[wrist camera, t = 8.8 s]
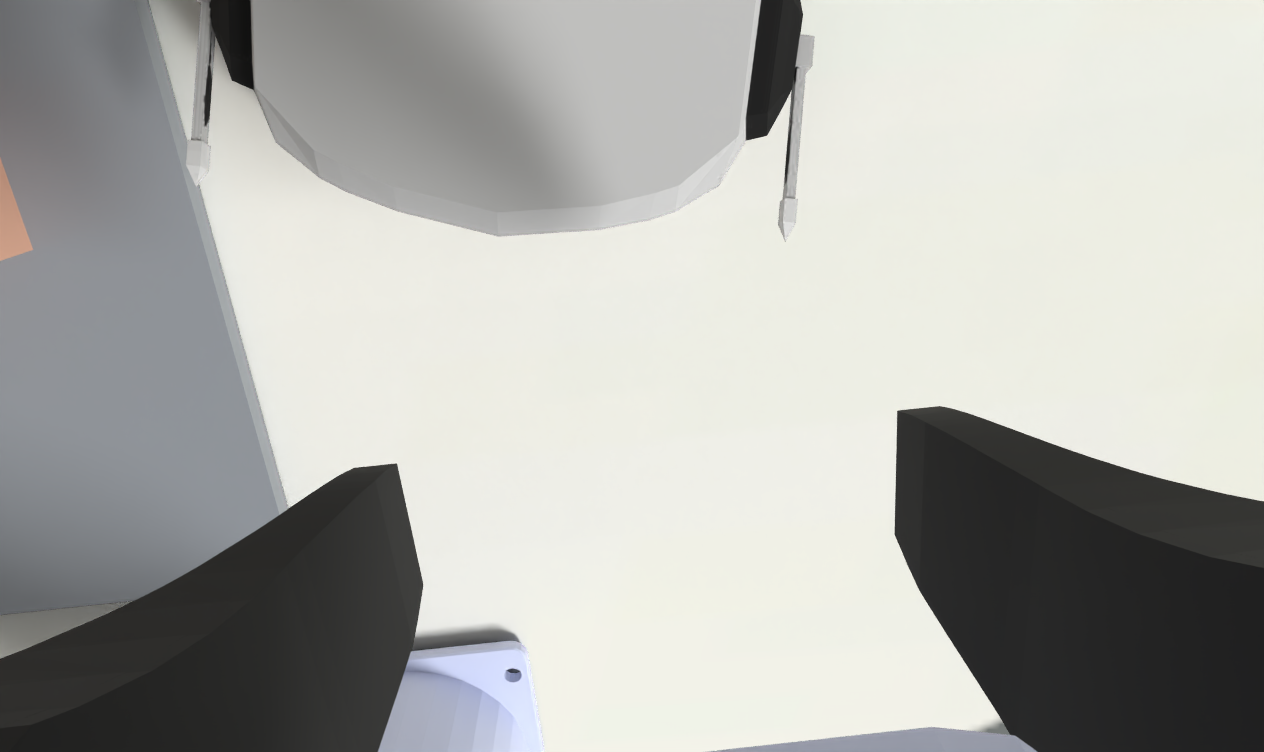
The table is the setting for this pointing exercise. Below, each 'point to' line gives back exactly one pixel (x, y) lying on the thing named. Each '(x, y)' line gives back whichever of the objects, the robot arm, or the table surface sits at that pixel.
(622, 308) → the table surface
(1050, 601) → the robot arm
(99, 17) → the baseplate
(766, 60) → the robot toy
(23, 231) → the base brick
